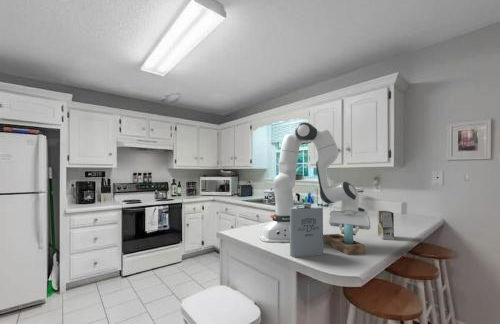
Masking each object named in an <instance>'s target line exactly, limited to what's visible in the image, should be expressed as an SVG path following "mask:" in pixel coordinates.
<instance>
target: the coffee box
mask: <svg viewBox="0 0 500 324" xmlns="http://www.w3.org/2000/svg"><path fill="white" fill-rule="evenodd" d="M394 213H395V212H393V211H389V210H377V233H378V234H377V235H378V237H380V239H382V240H390V241H394V240H395V234H394V233H395V224H394V223H395V222H394V219H395V218H394V217H395V216H394Z"/></svg>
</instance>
